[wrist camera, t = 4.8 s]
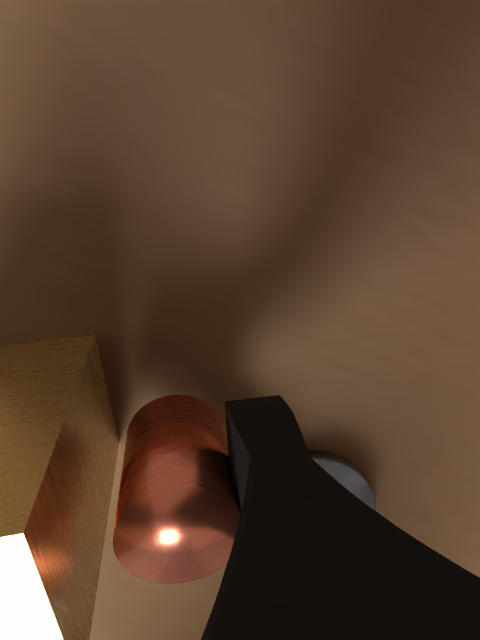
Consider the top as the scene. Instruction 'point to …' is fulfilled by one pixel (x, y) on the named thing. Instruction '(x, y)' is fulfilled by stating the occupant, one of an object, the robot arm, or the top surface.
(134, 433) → the crank
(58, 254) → the top surface
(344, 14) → the top surface
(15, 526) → the block
